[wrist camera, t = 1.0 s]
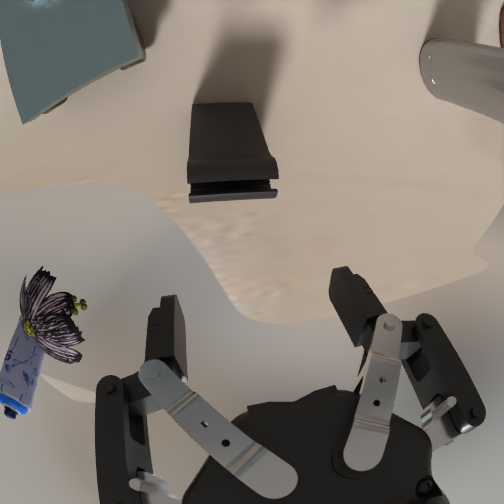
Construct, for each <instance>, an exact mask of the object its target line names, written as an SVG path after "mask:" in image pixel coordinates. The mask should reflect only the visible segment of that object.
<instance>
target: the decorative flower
mask: <svg viewBox="0 0 504 504" xmlns="http://www.w3.org/2000/svg"><path fill="white" fill-rule="evenodd" d="M42 268H43V266H42V267H41V268H40V269H39V270H38V271H37V273H36V274H35V275H34V276H33V278H32V279H31V281H30V283H29V285H28V287H27V290H26V288H25V280H26V277H25V279H24V281H23V284H22V287H21V292H20V309H21V314H22V317H23V325H22V327H23V330H24V333H25V334H26V335H28V336H29V337H33V338H34V340H35V342H36V343H37V344H38V346H39V347H40V348H41V349H42V350H43V351H44V352H45V353H47V354H48V355H50V356H51V357H53V358H55V359H57V360H60V361H62V362H65V363H70V364H72V363H74V362H80V360H81V357H82V354H81V353H79V352H78V351H76V350H74V349H71V348H68V346H73V345H76V344H79V343H81V342H83V341H85V340H84V339H83V338H82V337H81V333H82V331H79V328H78V327H76V326H75V324H74V321H72V319H71V316H72V314H73V315H77V314H78V310H77V309H76V308H78V307H80V306H81V309H82V310H86V309H87V305H86V304H85V303H86V301H85V300H84V299H81V300H80V303H74V302H76V300H77V298H76V296H74V295H73V296H72V295H70V293H68V292H58V293H55V294H51V295H49V296H48V297H46V296H47V294H48V292H49V291H50V290H51V288H52V286H53V284H54V282H55V279H56V277H53V276H51V275H50V272H49V271H48V272H46V270H45V271H42ZM45 297H46V298H45Z"/></svg>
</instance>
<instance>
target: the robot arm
mask: <svg viewBox="0 0 504 504" xmlns="http://www.w3.org/2000/svg"><path fill="white" fill-rule="evenodd" d="M420 69H421V75H422V77H423V81H424V83H425V85H426V87H427V88H428V90H429V91H430V92H431V93H432V94H433V95H434V96H435V97H437V98H438V99H441V100H444V101H447V102H450V103H453V104H456V105H459V106H462V107H464V108H467V109H470V110H472V111H475V112H478V113H480V114H483V115H485V116H487V117H490V118H492V119H494V120H497V121H499V122H501V123H503V124H504V49H503V48H499V47H494V46H489V45H484V44H478V43H471V42H464V41H456V40H445V39H432V40H429V41H428V42H427V43H426V44H425V45H424V46H423V48H422V51H421V54H420ZM329 297H330V300H331V302H332V304H333V306H334V308H335V310H336V312H337V313H338V315H339V317H340V319H341V321H342V323H343V325H344V327H345V329H346V330H347V333H348V335H349V337H350V339H351V340H352V342H353V344H354V346H355V347H358V346H361V345H362V346H363V348H364V350H363V353H362V357H361V361H360V364H359V368H358V371H357V375H356V378H355V381H354V384H353V386H352V388H351V391H347V390H337V388H336V386H335V385H333V386H330V387H326V388H323V389H320V390H316V391H313V392H312V393H310V394H308V395H306V396H304V397H302V398H300V399H299V400H297V401H294V402H266V403H261V404H256V405H250V406H247V409H248V411H247V412H245V413H242V414H241V415H239V416H237V417H236V418H235V419H233V420H232V421H231V422H229V421H228V420H227V419H226V418H225V417H224V416H222V415H221V414H220V413H219V412H218V411H217V410H215V409H214V408H213V407H212V406H211V405H210V404H209V403H208V402H206V401H205V400H204V399H203V398H202V397H201V396H200V395H199V394H197V393H196V392H193V391H192V390H191V389H190V388H189V387H188V386H186V385H185V383H183V382H186V381H188V376H187V358H186V335H185V320H184V316H183V313H182V310H181V307H180V304H179V301H178V298H177V295H168V296H162V297H161V303H160V307H158V308H153V309H152V311H151V313H150V315H149V316H148V327H147V338H146V351H145V362H144V364H142V366H141V367H140V369H139V371H138V372H136V373H135V374H133V375H130V376H128V377H125V378H122V379H120V378H118V377H117V376H113V375H108V376H105V377H103V378H102V379H101V380H100V381H99V383H98V384H97V388H96V406H95V407H96V408H95V450H96V451H95V453H96V470H97V482H98V491H99V500H100V504H450V503H449V500H448V498H447V497H446V495H445V494H444V493H443V492H442V490H441V489H440V488H439V487H438V485H437V484H436V482H435V481H434V479H433V477H432V471H431V458H432V451H434V450H435V449H437V448H439V447H440V446H442V445H448V444H449V443H451V442H453V441H454V440H457V439H458V438H460V437H462V436H463V435H465V434H467V433H468V432H470V431H471V430H473V429H474V428H476V427H477V426H479V425H480V424H482V423H483V421H484V419H485V415H486V410H485V406H484V404H483V402H482V400H481V398H480V396H479V394H478V392H477V390H476V388H475V386H474V384H473V382H472V380H471V378H470V376H469V374H468V372H467V370H466V368H465V367H464V365H463V363H462V361H461V359H460V358H459V356H458V354H457V352H456V351H455V349H454V347H453V346H452V344H451V342H450V341H449V339H448V337H447V336H446V334H445V333H444V331H443V329H442V328H441V326H440V324H439V323H438V321H437V320H436V319H435V317H433V316H432V315H430V314H427V313H423V314H420V315H418V317H417V318H416V320H415V321H401V320H400V319H399V318H398V317H397V316H395V315H393V314H389V313H387V311H386V310H385V309H384V307H383V306H382V304H381V302H380V301H379V299H378V298H377V297H376V295H375V294H374V293H373V291H372V289H371V288H370V287H369V285H368V283H367V282H366V281H365V279H364V278H362V277H361V276H359V275H358V274H354V275H353V273H352V272H351V270H350V269H349V267H347V266H344V267H339V268H334V269H333V270H332V274H331V280H330V286H329ZM401 363H402V365H403V367H404V369H405V370H406V373H407V375H408V377H409V379H410V381H411V384H412V386H413V388H414V390H415V392H416V395H417V397H418V399H419V402H420V404H421V406H422V408H423V411H422V413H421V421H420V424H421V426H422V429H421V428H420V427H418V426H416V425H414V424H412V423H410V422H408V421H406V420H404V419H403V418H401V417H399V416H397V415H395V414H393V413H392V410H393V406H394V401H395V397H396V392H397V387H398V381H399V375H400V369H401ZM163 408H164V410H166V412H167V413H168V414H169V415H170V416H171V417H172V418H173V419H174V420H175V421H176V423H178V425H179V426H180V427H181V428H183V430H184V431H185V432H186V433H187V434H188V435H189V436H190V437H191V438H192V439H193V440H194V441H196V442H197V443H198V444H199V445H200V446H201V447H202V448H203V449H204V450H205V451H206V452H207V453H208V454H210V455H209V456H208V458H207V459H206V461H205V463H204V464H203V466H202V467H201V469H200V470H199V472H198V473H197V475H196V477H195V478H194V479H193V481H192V482H191V484H190V485H189V487H188V489H187V490H186V491H185V493H184V495H183V498H182V499H179V498H177V497H176V496H174V495H173V494H172V492H171V491H170V489H169V486H168V484H167V482H166V481H165V480H164V479H163V478H161V477H159V476H156V475H154V474H153V469H152V462H151V455H150V446H149V437H148V427H147V414H150V413H153V412H155V411H158V410H160V409H163Z"/></svg>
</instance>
